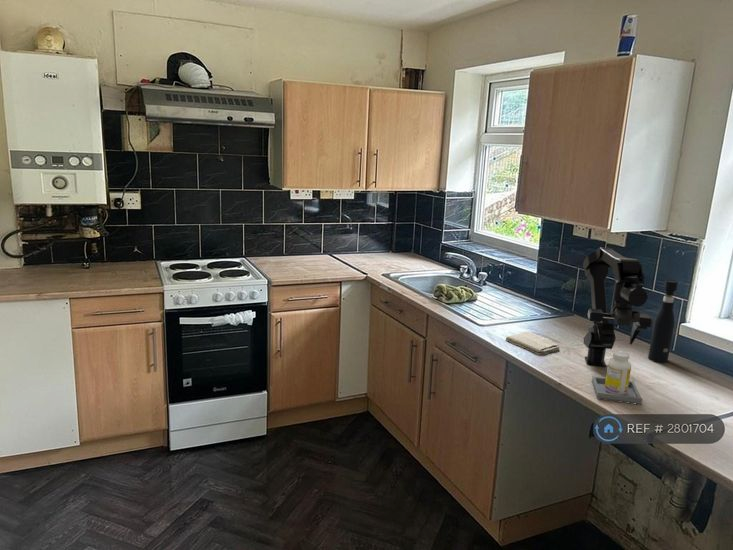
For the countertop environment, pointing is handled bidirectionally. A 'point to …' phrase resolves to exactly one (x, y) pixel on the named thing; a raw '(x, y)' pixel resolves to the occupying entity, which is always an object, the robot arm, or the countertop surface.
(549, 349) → the washcloth
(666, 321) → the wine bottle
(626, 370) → the supplement bottle
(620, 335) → the countertop surface
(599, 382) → the tray
